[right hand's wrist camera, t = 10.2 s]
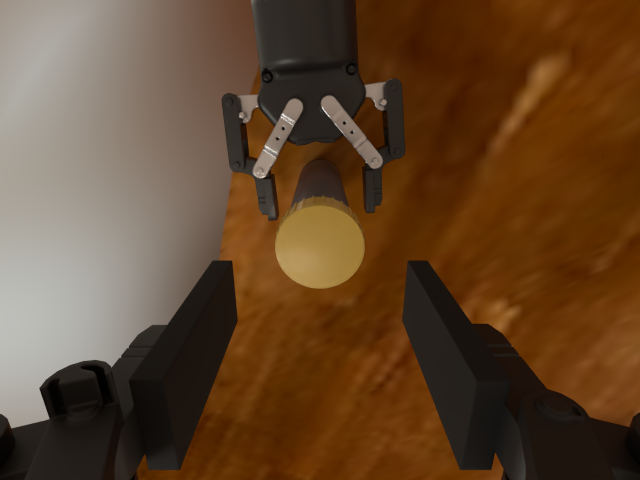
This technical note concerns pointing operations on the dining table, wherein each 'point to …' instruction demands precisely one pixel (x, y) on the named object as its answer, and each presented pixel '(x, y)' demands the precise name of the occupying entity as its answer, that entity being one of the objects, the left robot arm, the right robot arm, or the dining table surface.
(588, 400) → the dining table surface
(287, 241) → the lid
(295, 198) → the dark grey cylinder
